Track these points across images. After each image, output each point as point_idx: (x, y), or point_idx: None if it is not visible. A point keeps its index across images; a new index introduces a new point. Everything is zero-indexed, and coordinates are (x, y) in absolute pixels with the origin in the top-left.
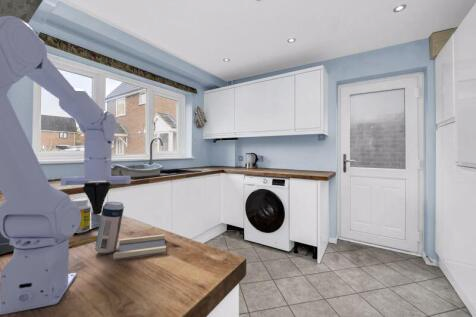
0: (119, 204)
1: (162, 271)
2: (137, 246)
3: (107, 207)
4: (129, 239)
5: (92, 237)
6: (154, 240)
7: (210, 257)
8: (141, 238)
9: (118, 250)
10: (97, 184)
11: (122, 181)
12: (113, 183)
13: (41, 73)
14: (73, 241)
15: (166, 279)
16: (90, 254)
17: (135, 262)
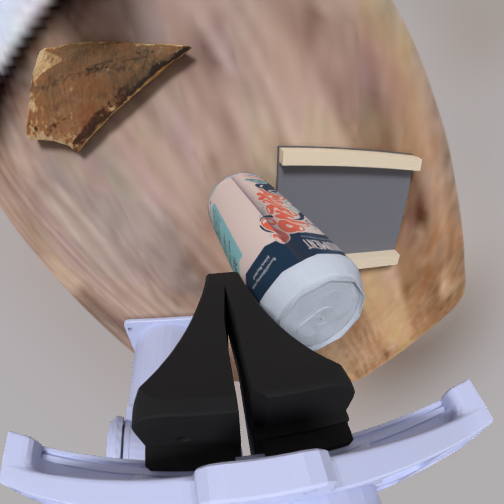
0: (346, 314)
1: (359, 322)
2: (336, 204)
3: None
4: (317, 165)
5: (156, 66)
6: (386, 168)
7: (439, 288)
8: (355, 165)
9: None
10: (235, 440)
11: (423, 428)
12: (364, 438)
13: None
14: (98, 108)
15: (357, 341)
16: (195, 206)
17: None
